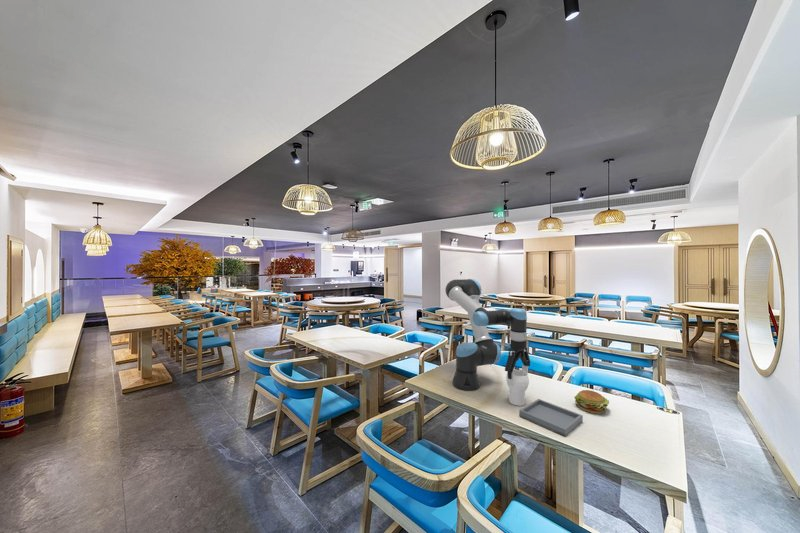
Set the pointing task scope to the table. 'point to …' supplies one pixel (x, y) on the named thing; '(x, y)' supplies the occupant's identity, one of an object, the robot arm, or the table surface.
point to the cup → (518, 387)
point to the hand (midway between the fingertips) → (517, 381)
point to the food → (591, 401)
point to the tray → (551, 417)
